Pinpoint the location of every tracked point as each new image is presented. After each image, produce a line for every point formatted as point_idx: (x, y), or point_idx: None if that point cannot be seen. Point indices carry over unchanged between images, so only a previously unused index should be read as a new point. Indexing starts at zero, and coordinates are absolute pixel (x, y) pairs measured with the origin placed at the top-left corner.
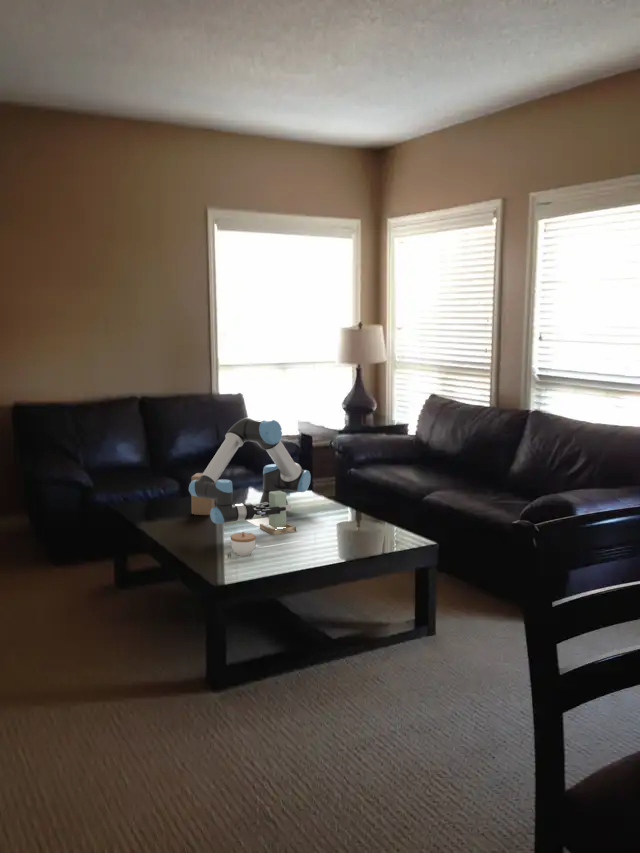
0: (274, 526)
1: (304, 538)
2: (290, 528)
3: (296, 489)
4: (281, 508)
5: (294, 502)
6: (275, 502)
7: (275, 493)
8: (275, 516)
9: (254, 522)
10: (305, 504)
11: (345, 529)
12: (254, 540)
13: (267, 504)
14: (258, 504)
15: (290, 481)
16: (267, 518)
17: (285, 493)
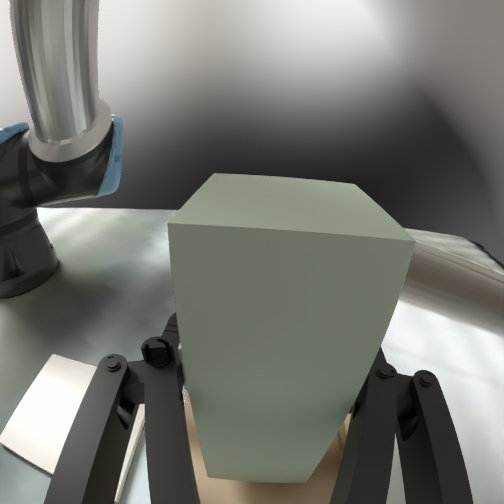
0: (300, 480)
1: None
2: None
3: (95, 187)
4: (384, 359)
5: (53, 236)
6: (374, 350)
7: (339, 218)
8: (326, 444)
9: (49, 449)
10: (84, 231)
11: None
12: None
13: (179, 404)
14: (90, 481)
15: (81, 156)
16: (61, 363)
17: (358, 189)
